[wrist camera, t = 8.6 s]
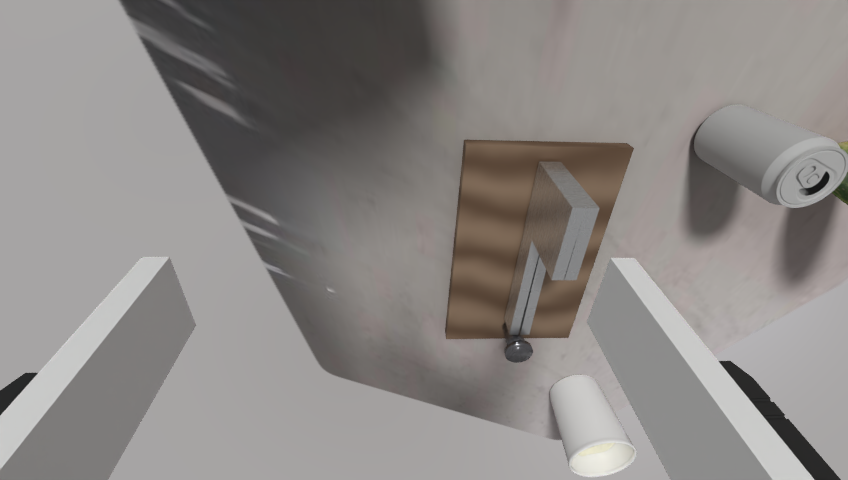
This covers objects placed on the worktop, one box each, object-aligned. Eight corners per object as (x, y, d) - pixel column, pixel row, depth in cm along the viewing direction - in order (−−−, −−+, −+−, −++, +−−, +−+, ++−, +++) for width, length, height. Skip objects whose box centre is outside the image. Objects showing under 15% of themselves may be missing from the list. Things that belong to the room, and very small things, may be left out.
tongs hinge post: (520, 334, 58) (530, 362, 54) (496, 334, 58) (503, 363, 54) (525, 316, 56) (535, 344, 52) (499, 316, 56) (508, 344, 52)
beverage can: (705, 170, 46) (789, 225, 36) (678, 134, 44) (761, 183, 34) (760, 129, 44) (866, 176, 34) (735, 88, 41) (842, 127, 31)
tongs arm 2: (523, 317, 56) (544, 378, 47) (514, 317, 56) (534, 379, 47) (560, 161, 43) (599, 208, 35) (549, 161, 43) (586, 208, 34)
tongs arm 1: (512, 317, 56) (532, 379, 47) (504, 317, 55) (522, 379, 47) (549, 161, 43) (586, 208, 34) (538, 161, 43) (572, 207, 34)
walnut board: (464, 139, 43) (466, 144, 42) (627, 143, 44) (633, 148, 43) (445, 331, 59) (446, 338, 58) (564, 329, 60) (568, 337, 59)
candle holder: (567, 364, 65) (598, 436, 55) (614, 379, 68) (651, 449, 58) (533, 399, 70) (555, 471, 60) (578, 411, 72) (606, 481, 62)
